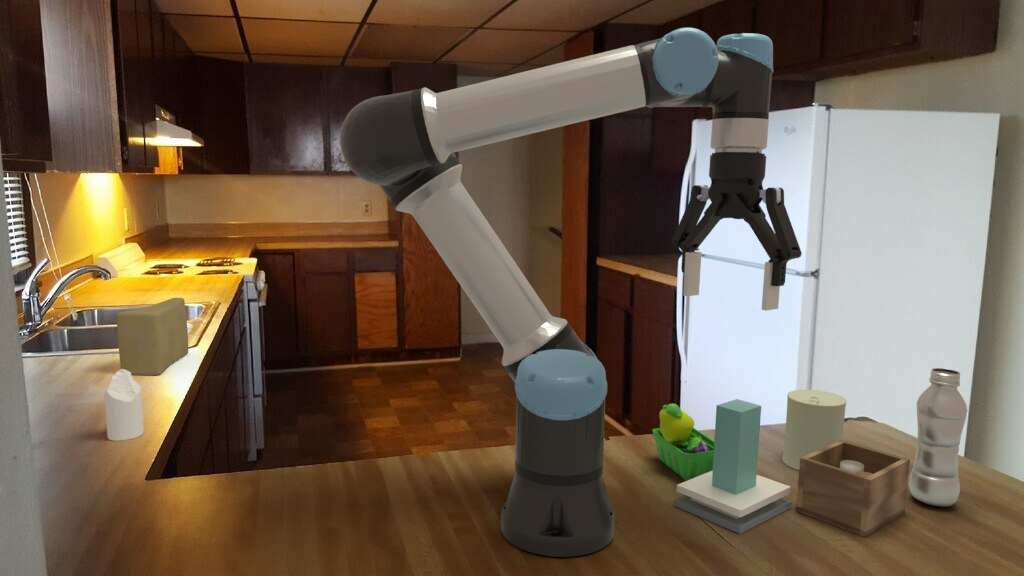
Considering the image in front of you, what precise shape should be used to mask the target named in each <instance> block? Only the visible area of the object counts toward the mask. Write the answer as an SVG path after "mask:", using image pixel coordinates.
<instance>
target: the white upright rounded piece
mask: <svg viewBox="0 0 1024 576" xmlns="http://www.w3.org/2000/svg"><path fill="white" fill-rule="evenodd" d="M142 394H143V393H142V388H141V386H140V384H139V383H138V382H136V381H135V379H134V378H133V375H131V372H129V371H127V370H125V369H121V368H120V369H119V370H117V371H116V372H114V375H113V376H111V379H110V382H109V383H108V386H107V387H106V388H105V391H104V393H103V399H104V400H103V401H104V409H105V420H106V432H107V433H106V434H107V439H108V440H109V441H114V442H118V441H119V442H121V441H128V440H133V439H136V438H139V437H140V436H142V435H143V434H144V432H145V431H144V430H145V429H144V426H145V425H144V411H143V410H144V409H143V396H142Z"/></svg>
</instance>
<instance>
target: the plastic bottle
mask: <svg viewBox="0 0 1024 576" xmlns="http://www.w3.org/2000/svg"><path fill="white" fill-rule="evenodd" d="M930 371H931V372H930V377H929V378H928V380H929V381H928V382H929V383H931V384H930V385H929V386H928V387H927V388H926V389H925V390H924V391H923V392H922V393H921V394H920V395H919V397H918V399H917V401H916V419H917V440H916V441H917V442H916V443H917V444H916V446H917V447H916V451H915V456H914V461H913V466H912V469H911V471H910V476H909V477H908V487H909V491H910V494H911V495H912V496H913V498H914V499H915V500H918V502H921V503H924V504H927V505H930V506H934V507H942V508H943V507H944V508H945V507H951V506H953V505H954V504H955V503H957V501H958V498H959V495H960V493H961V490H960V487H961V486H960V478H959V477H960V476H959V450H960V447H959V446H960V444H961V438H962V434H963V430H964V426H965V423H966V419H967V415H968V407H967V406H968V405H967V403H966V401H965V399H964V397H963V395H962V394H961V393H960V391H959V390H958V387H960V386H961V385H960V384H961V382H960V381H961V372H960V371H957V370H955V369H950V368H943V367H935V368H931V370H930Z"/></svg>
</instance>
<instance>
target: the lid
mask: <svg viewBox="0 0 1024 576" xmlns="http://www.w3.org/2000/svg"><path fill="white" fill-rule="evenodd" d="M715 411H716V413H715V424H714V425H715V429H714V440H713V441H714V457H713V471H710V472H708V473H705V474H703V475H700V476H698V477H695V478H693V479H689V480H684V481H683V482H681V483H678V484H676V492H677V493H680V494H682V495H686V496H689V497H691V500H692V501H694V502H697V503H699V504H702V505H704V506H707V507H709V508H711V509H714V510H716V511H719V512H721V513H723V514H726V515H728V516H731V517H733V518H736V519H738V518H741V517H743V516H745V515H747V514H749V513H751V512H753V511H755V510H757V509H759V508H761V507H763V506H765V505H767V504H769V503H772V502H774V501H776V500H778V499H780V498H784V497H786V496H788V495H790V494H791V492H792V491H791V490H792V487H791V486H790V485H788V484H784V483H782V482H780V481H779V482H778V481H776V480H773V479H770V478H768V477H766V476H765V477H764V476H762V475H758V474H757V473H758V461H759V460H758V457H759V446H760V429H761V417H762V405H759V404H756V403H753V402H749V401H745V400H741V399H738V398H735V399H732V400H729V401H726V402H722V403H720V404H717V405H716V410H715Z"/></svg>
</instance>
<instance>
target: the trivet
mask: <svg viewBox="0 0 1024 576" xmlns="http://www.w3.org/2000/svg"><path fill="white" fill-rule="evenodd" d="M792 505H793V501H792V500H790V499H787V498H784V497H782V498H780V499H778V500H776V501H774V502H772V503H769V504H767V505H765V506H763V507H761V508H759V509H757V510H755V511H753V512H751V513H749V514H747V515H745V516H743V517H741V518H738V519H736V518H733V517H731V516H728V515H726V514H723V513H721V512H719V511H716V510H714V509H711V508H709V507H707V506H704V505H702V504H699V503H697V502H694V501H692V500H691V497H689V496H686V495H684V494H682V495H681V496H679V497H676V498H674V499H673V506H674V507H675V508H678V509H681V510H684V511H685V512H687V513H690V514H692V515H695V516H697V517H700V518H702V519H704V520H706V521H708V522H711V523H714V524H716V525H718V526H721V527H723V528H725V529H727V530H730V531H732V532H735V533H737V534H738V535H741V534H743V533H745V532H747V531H749V530H751V529H752V528H753V529H754V528H755V527H757V526H759V525H761V524H763V523H764V522H766V521H768V520H770V519H772V518H774V517H776V516H778V515H780V514H782V513H784V512H786V511H788V510H790V509H792Z"/></svg>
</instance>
